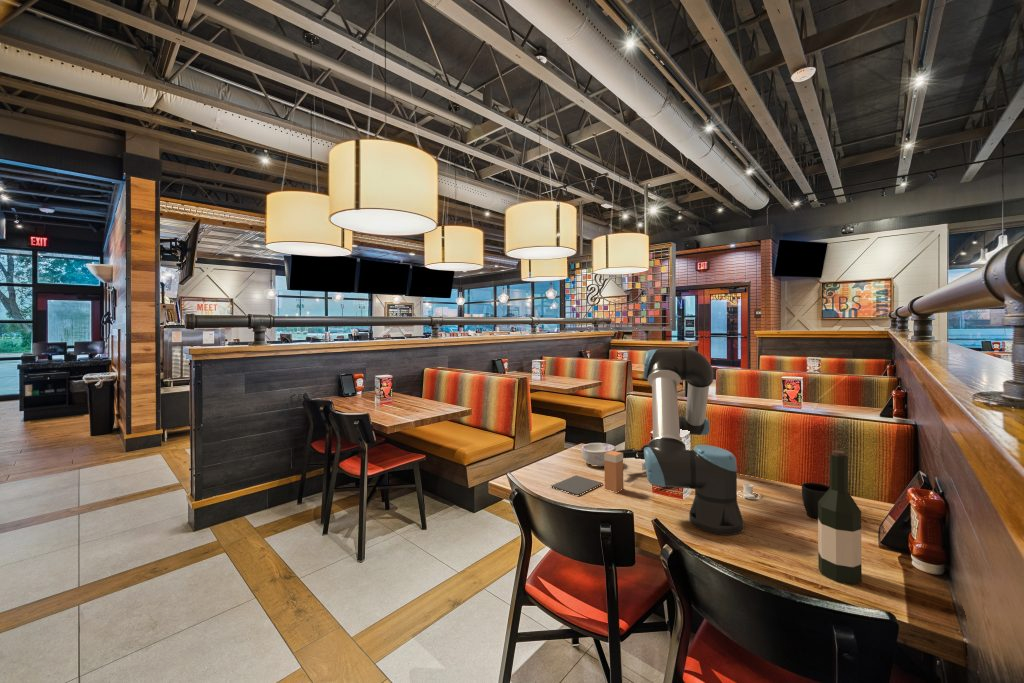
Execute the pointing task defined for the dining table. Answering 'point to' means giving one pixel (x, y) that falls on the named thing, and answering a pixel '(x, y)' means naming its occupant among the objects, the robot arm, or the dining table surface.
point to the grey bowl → (596, 452)
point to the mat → (576, 485)
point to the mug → (812, 497)
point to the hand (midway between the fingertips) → (627, 463)
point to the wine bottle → (839, 527)
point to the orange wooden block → (613, 470)
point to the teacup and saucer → (748, 492)
